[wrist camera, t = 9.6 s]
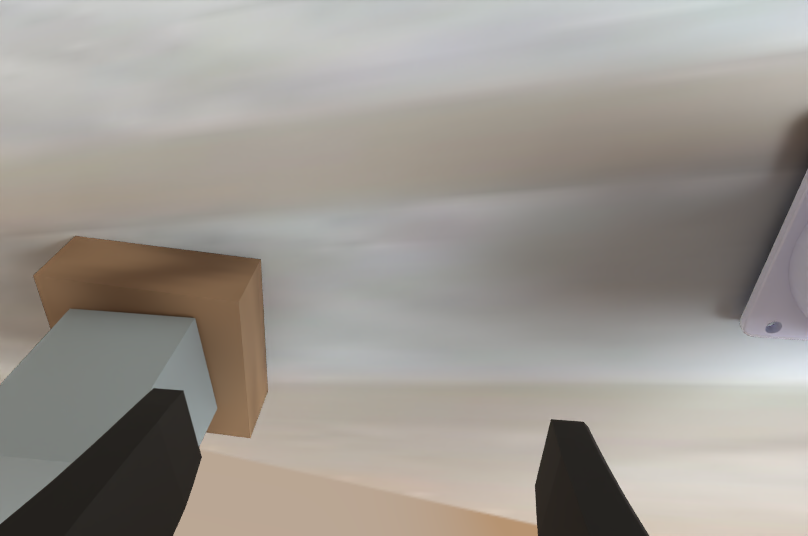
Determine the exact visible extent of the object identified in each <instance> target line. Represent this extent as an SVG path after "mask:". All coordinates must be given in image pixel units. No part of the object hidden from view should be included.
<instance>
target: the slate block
mask: <svg viewBox="0 0 808 536" xmlns="http://www.w3.org/2000/svg"><path fill="white" fill-rule="evenodd" d="M153 388H159V389H172V390H184V394H185V398H186V401H187V405H188V409H189V412H190V416H191V420H192V423H193V427H194V431H195V434H196V438H197V442H198V445H199V446H200V444H201V442H202V440H203V437H204V435H205V433H206V431H207V429H208V427H209V425H210V423H211V421H212V419H213V416H214V414H215V412H216V410H217V405H216V400H215V396H214V392H213V388H212V384H211V380H210V376H209V372H208V368H207V364H206V360H205V356H204V352H203V348H202V344H201V340H200V336H199V332H198V328H197V324H196V320H195V318H188V317H175V316H161V315H148V314H135V313H122V312H108V311H95V310H82V309H69V310H68V311H67V312H66V313H65V315H64V316H63V317H62V318H61V319H60V320H59V321H58V322H57V323H56V324H55V325H54V327H53V328H52V329H51V330H50V331H49V332H48V333H47V334H46V335H45V336H44V337H43V338H42V340H41V341H40V342H39V343H38V344H37V345H36V346H35V347H34V348H33V349H32V350H31V352H30V353H29V354H28V355H27V356H26V357H25V358H24V359H23V360H22V361H21V362H20V364H19V365H18V366H17V367H16V368H15V369H14V370H13V371H12V372H11V373H10V374H9V376H8V377H7V378H6V379H5V380H4V381H3V382H2V383H1V384H0V524H1V523H2V522H3V521H4V520H6V519H7V518H8V517H9V516H11V515H12V514H13V513H14V512H15V511H17V510H18V509H19V508H20V507H21V506H23V505H24V504H25V503H26V502H27V501H29V500H30V499H31V498H32V497H33V496H35V495H36V494H37V493H38V492H39V491H41V490H42V489H43V488H44V487H45V486H47V485H48V484H49V483H50V482H51V481H52V480H53V479H55V478H56V477H57V476H58V475H59V474H60V473H61V472H62V471H64V470H65V469H66V468H67V467H68V466H69V465H70V464H71V463H73V462H74V461H75V460H76V459H77V458H78V457H79V456H80V455H81V454H83V453H84V452H85V451H86V450H87V449H88V448H89V447H90V446H91V445H93V444H94V443H95V442H96V441H97V440H98V439H99V438H100V437H101V436H102V435H103V434H104V433H106V432H107V431H108V430H109V429H110V428H111V427H112V426H113V425H114V424H115V423H116V422H117V421H118V420H119V419H121V418H122V417H123V416H124V415H125V414H126V413H127V412H128V411H129V410H130V409H131V408H132V407H133V406H134V405H135V404H137V403H138V402H139V401H140V400H141V399H142V398H143V397H144V396H145V395H146V394H148V393H149V392H150V391H151V390H152V389H153Z"/></svg>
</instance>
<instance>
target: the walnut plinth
mask: <svg viewBox="0 0 808 536" xmlns="http://www.w3.org/2000/svg"><path fill="white" fill-rule="evenodd" d="M33 277H34V280H35V283H36V286H37V289H38V292H39V295H40V298H41V301H42V304H43V307H44V310H45V313H46V316H47V319H48V322H49V325H50V328H51V329H52V328H53V327H54V325H55V324H56V323H57V322H58V321H59V320H60V319H61V318H62V317H63V316H64V315H65V313H66V312H67V311H68V310H69V309H82V310H95V311H108V312H122V313H135V314H148V315H161V316H175V317H188V318H195V320H196V324H197V328H198V332H199V336H200V340H201V344H202V348H203V352H204V356H205V360H206V364H207V368H208V372H209V376H210V380H211V384H212V388H213V392H214V396H215V400H216V405H217V410H216V412H215V414H214V416H213V419H212V421H211V423H210V425H209V427H208V429H207V431H206V432H208V433H215V434H223V435H231V436H238V437H246V438H251V435H252V432H253V430H254V427H255V424H256V421H257V419H258V416H259V413H260V411H261V408H262V405H263V403H264V400H265V397H266V395H267V392H268V384H267V366H266V347H265V329H264V310H263V292H262V274H261V259H253V258H245V257H237V256H230V255H222V254H214V253H206V252H198V251H190V250H182V249H174V248H166V247H158V246H151V245H143V244H135V243H127V242H119V241H111V240H103V239H95V238H87V237H80V236H75V237H74V238H73V239H71V240H70V241H69V242H68V243H67V244H66V245H65V246H64V247H63V248H62V249H61V250H60V251H59V252H58V253H57V254H56V255H54V256H53V257H52V258H51V259H50V260H49V261H48V262H47V263H46V264H45V265H44V266H43V267H42V268H41V269H40V270H39V271H38V272H36V273H35V274H34V275H33Z"/></svg>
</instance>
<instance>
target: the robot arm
mask: <svg viewBox="0 0 808 536" xmlns="http://www.w3.org/2000/svg"><path fill="white" fill-rule="evenodd" d="M772 322H775V323H774V324H773V325H771V326H767V325H768V324H770V323H772ZM739 324H740V326H741V328H742V330H743V331H744V333H745V334H747V335H749V336H753V337H767V338H781V339H796V340H808V169H807V171H806V174H805V176H804V178H803V180H802V183H801V185H800V187H799V189H798V192H797V194H796V196H795V198H794V200H793V203H792V205H791V207H790V209H789V212H788V214H787V216H786V218H785V220H784V223H783V225H782V227H781V229H780V232H779V234H778V236H777V238H776V241H775V243H774V245H773V247H772V249H771V252H770V254H769V256H768V258H767V261H766V263H765V265H764V267H763V269H762V272H761V274H760V276H759V278H758V281H757V283H756V285H755V287H754V290H753V292H752V294H751V296H750V298H749V301H748V303H747V305H746V307H745V310H744V312H743V314H742V316H741V318H740V323H739ZM201 458H202V456H201V453H200V449H199V445H198V442H197V438H196V434H195V431H194V427H193V423H192V420H191V416H190V412H189V409H188V405H187V401H186V398H185V394H184V390H172V389H159V388H153V389H152V390H151V391H150V392H149V393H148V394H146V395H145V396H144V397H143V398H142V399H141V400H140V401H139V402H138V403H137V404H135V405H134V406H133V407H132V408H131V409H130V410H129V411H128V412H127V413H126V414H125V415H124V416H123V417H122V418H121V419H119V420H118V421H117V422H116V423H115V424H114V425H113V426H112V427H111V428H110V429H109V430H108V431H107V432H106V433H104V434H103V435H102V436H101V437H100V438H99V439H98V440H97V441H96V442H95V443H94V444H93V445H91V446H90V447H89V448H88V449H87V450H86V451H85V452H84V453H83V454H81V455H80V456H79V457H78V458H77V459H76V460H75V461H74V462H73V463H71V464H70V465H69V466H68V467H67V468H66V469H65V470H64V471H62V472H61V473H60V474H59V475H58V476H57V477H56V478H55V479H53V480H52V481H51V482H50V483H49V484H48V485H47V486H45V487H44V488H43V489H42V490H41V491H39V492H38V493H37V494H36V495H35V496H33V497H32V498H31V499H30V500H29V501H27V502H26V503H25V504H24V505H23V506H21V507H20V508H19V509H18V510H17V511H15V512H14V513H13V514H12V515H11V516H9V517H8V518H7V519H6V520H4V521H3V522H2V523H1V524H0V536H173V534H174V532H175V529H176V527H177V525H178V523H179V521H180V519H181V516H182V514H183V512H184V510H185V507H186V504H187V501H188V498H189V495H190V493H191V490H192V487H193V484H194V480H195V477H196V474H197V470H198V467H199V464H200V461H201ZM535 494H536V513H537V528H538V536H649V535H648V533H647V531H646V530H645V528H644V527H643V525H642V523H641V522H640V520H639V518H638V517H637V515H636V514H635V512H634V510H633V509H632V507H631V505H630V504H629V502H628V500H627V499H626V497H625V495H624V493H623V492H622V490H621V488H620V486H619V485H618V483H617V481H616V479H615V478H614V476H613V474H612V472H611V470H610V469H609V467H608V465H607V463H606V461H605V459H604V457H603V455H602V454H601V452H600V450H599V448H598V446H597V444H596V442H595V440H594V438H593V436H592V434H591V432H590V430H589V428H588V426H587V425H586V424H585V423H584V422H578V421H565V420H552V419H551V422H550V426H549V430H548V434H547V438H546V442H545V447H544V451H543V455H542V459H541V463H540V467H539V471H538V475H537V480H536V484H535Z"/></svg>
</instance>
